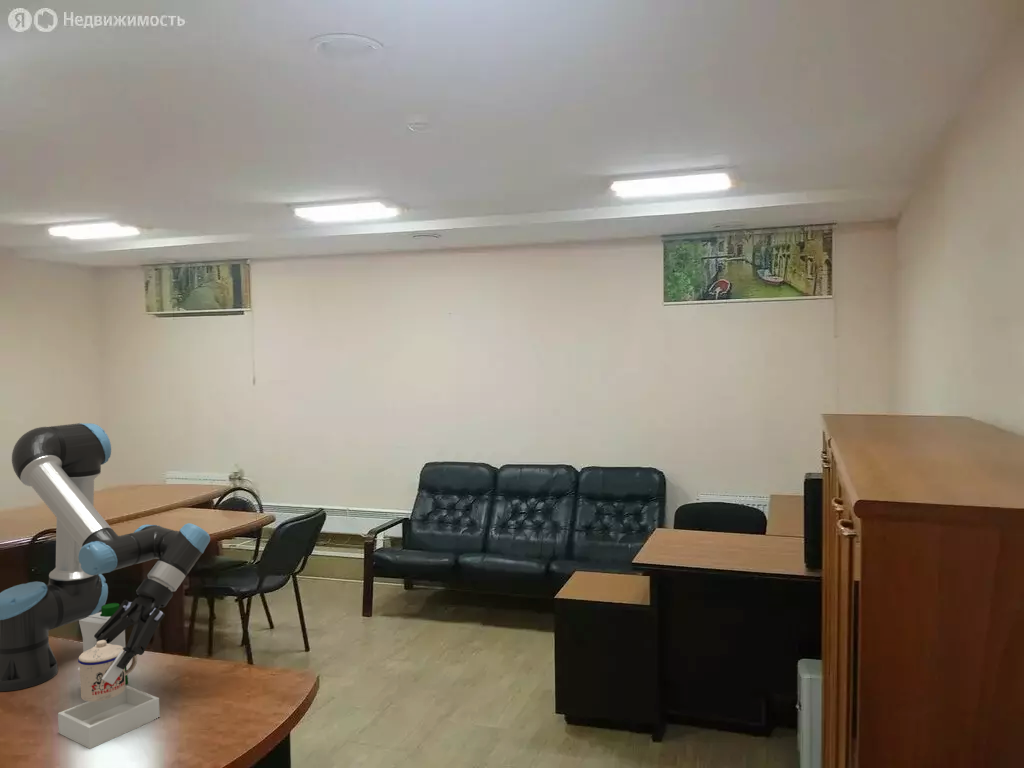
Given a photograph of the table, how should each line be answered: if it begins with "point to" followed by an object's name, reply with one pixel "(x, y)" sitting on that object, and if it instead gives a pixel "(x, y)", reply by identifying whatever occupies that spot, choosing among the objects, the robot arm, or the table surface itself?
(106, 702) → the white rectangular tray
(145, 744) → the table surface
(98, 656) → the teacup with lid
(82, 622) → the milk carton
